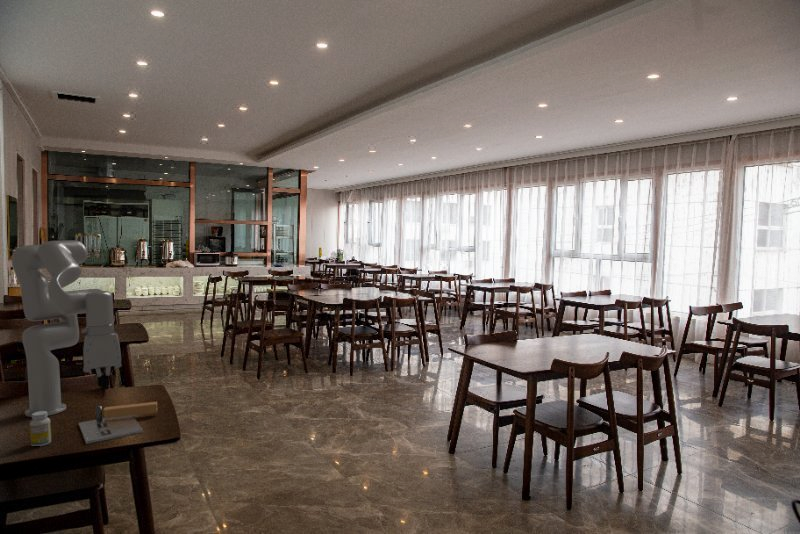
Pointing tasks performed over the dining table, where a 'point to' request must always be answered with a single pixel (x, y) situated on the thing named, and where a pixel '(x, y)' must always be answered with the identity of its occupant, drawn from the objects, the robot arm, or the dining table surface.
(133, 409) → the swing bar
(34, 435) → the supplement bottle
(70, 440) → the dining table surface
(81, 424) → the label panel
